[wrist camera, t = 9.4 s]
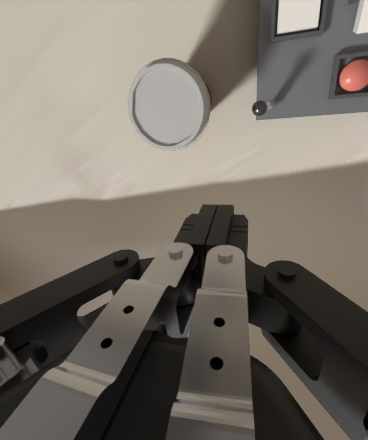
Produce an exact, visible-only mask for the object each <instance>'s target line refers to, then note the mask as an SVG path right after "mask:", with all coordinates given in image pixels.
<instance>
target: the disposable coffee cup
mask: <svg viewBox="0 0 368 440" xmlns="http://www.w3.org/2000/svg"><path fill="white" fill-rule="evenodd" d="M210 106H211V93H210V90H209V88H208V86H207V85H206V84H205V82H204V81H203V79H202V78H201V76H200V75H199V74H198V73H197V72H196V71H195V70H194V69H193V68H192V67H191V66H190V65H188V64H186V63H184V62H182V61H180V60H176V59H172V58H162V59H158V60H154V61H152V62H151V63H149V64H147V65H146V66H145V67H143V68H142V69H141V70H140V71H139V73H138V74H137V76H136V77H135V79H134V81H133V83H132V86H131V89H130V92H129V98H128V111H129V115H130V119H131V122H132V124H133V126H134V128H135V130H136V132H137V133H138V134H139V135H140V136H141V138H142V139H144V140H145V141H146V142H147V143H149V144H150V145H152V146H154V147H156V148H158V149H161V150H165V151H178V150H182V149H185V148H187V147H189V146H191V145H193V144H194V143H195V142H196V141H197V140H198V139H199V138H200V137H201V135H202V134H203V132H204V131H205V129H206V126H207V124H208V121H209V116H210Z"/></svg>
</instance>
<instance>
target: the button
mask: <svg viewBox="0 0 368 440" xmlns="http://www.w3.org/2000/svg"><path fill="white" fill-rule="evenodd" d="M338 83H339V85H340V87H341V88H342V89H344V90H347V91H357V90H360V89H361V88H363V87H364V86H366V85H367V84H368V61H366V60H355V61H352V62H349V63H348V64H346V65H345V66H344V67H343V68H342V70H341V71H340V73H339V77H338Z"/></svg>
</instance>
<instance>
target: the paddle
mask: <svg viewBox="0 0 368 440" xmlns="http://www.w3.org/2000/svg"><path fill="white" fill-rule="evenodd" d="M320 3H321V0H279V2H278V20H277V35H278V34H285V33H291V32H297V31H303V30H310V29H316V28H317V27H318V20H319V12H320Z"/></svg>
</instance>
